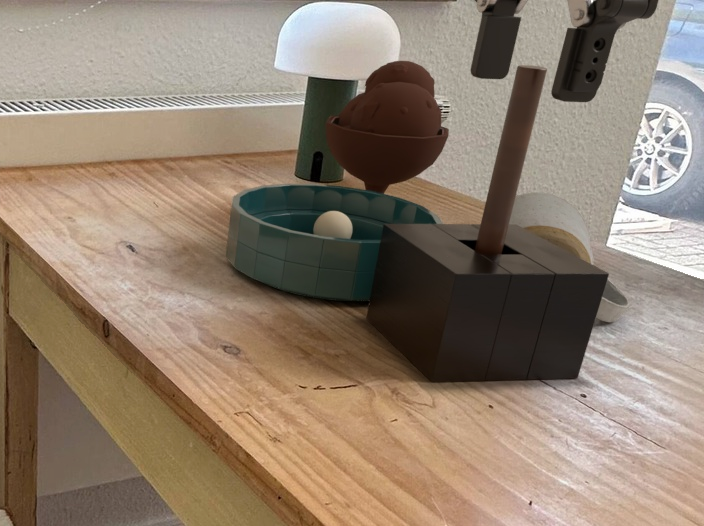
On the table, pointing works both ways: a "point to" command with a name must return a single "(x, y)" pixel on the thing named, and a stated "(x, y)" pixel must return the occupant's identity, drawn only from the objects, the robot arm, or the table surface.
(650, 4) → the robot arm
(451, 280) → the holder
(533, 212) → the ceramic mug
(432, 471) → the table surface
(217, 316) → the table surface
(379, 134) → the ice cream bowl
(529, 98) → the stick
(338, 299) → the bowl
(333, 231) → the dough ball
